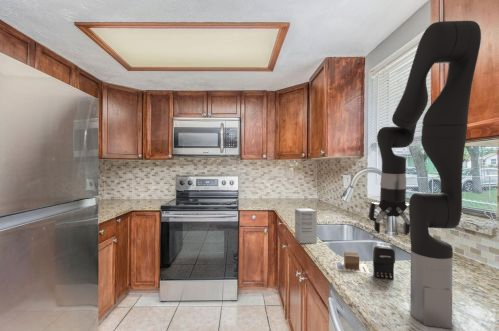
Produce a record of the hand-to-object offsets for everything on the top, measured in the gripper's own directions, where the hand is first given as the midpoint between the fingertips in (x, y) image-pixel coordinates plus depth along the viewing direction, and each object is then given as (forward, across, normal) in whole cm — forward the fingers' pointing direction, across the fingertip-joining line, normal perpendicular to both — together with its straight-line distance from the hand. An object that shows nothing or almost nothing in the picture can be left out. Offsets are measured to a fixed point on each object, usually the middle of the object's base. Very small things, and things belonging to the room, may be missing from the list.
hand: (391, 233), depth 91 cm
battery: (+18, -1, +3) cm, 18 cm away
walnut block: (+18, -11, +11) cm, 24 cm away
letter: (+18, -11, +11) cm, 24 cm away
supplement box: (+22, -31, +44) cm, 58 cm away
